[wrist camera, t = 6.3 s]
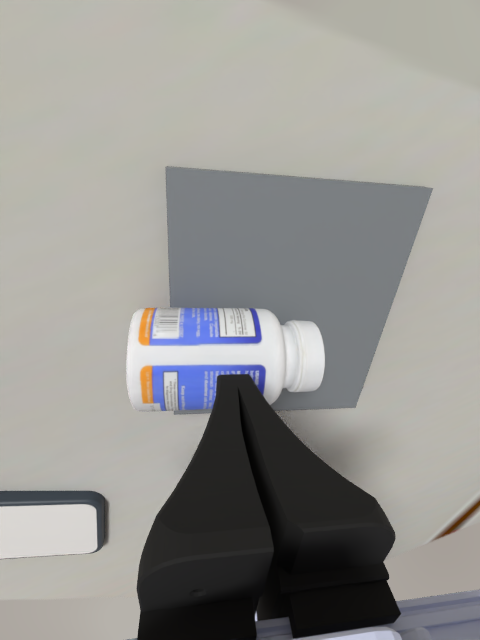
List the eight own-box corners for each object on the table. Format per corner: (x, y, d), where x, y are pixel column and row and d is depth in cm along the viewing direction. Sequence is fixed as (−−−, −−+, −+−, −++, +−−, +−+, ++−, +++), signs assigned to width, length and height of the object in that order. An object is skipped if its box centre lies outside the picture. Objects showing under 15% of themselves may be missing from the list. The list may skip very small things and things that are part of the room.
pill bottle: (141, 404, 18) (297, 399, 20) (121, 420, 13) (335, 412, 15) (144, 315, 19) (294, 316, 21) (126, 296, 14) (329, 300, 15)
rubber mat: (423, 186, 17) (433, 188, 16) (350, 400, 25) (355, 407, 24) (166, 166, 15) (165, 167, 14) (174, 406, 23) (173, 414, 22)
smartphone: (106, 482, 27) (-117, 485, 24) (101, 500, 26) (-136, 507, 22) (106, 536, 31) (-84, 546, 28) (102, 554, 30) (-98, 567, 26)
